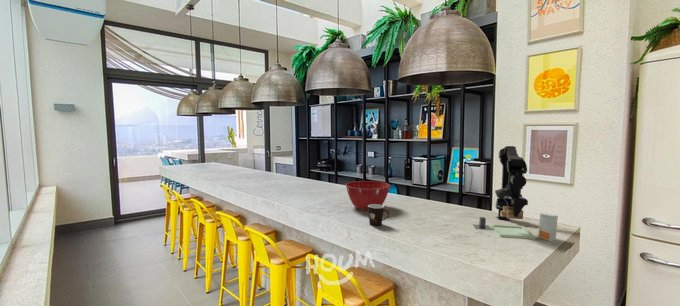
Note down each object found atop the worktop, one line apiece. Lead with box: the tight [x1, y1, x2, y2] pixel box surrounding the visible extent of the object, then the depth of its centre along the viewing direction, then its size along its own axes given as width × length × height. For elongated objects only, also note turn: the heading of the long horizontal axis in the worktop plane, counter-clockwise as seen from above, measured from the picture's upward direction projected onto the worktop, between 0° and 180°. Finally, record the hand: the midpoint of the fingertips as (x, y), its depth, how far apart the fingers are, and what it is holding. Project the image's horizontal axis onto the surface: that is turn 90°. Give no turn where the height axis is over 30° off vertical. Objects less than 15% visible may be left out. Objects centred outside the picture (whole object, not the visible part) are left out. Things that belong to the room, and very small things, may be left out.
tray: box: [489, 223, 537, 240], centre depth 161 cm, size 16×16×2 cm
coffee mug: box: [367, 204, 390, 227], centre depth 171 cm, size 12×9×10 cm
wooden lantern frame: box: [500, 206, 524, 220], centre depth 160 cm, size 9×7×4 cm
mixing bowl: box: [345, 180, 391, 211], centre depth 207 cm, size 28×28×16 cm
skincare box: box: [537, 212, 559, 242], centre depth 153 cm, size 6×4×12 cm
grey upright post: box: [472, 216, 493, 231], centre depth 169 cm, size 8×8×6 cm
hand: (512, 214), depth 160 cm, fingers closed on wooden lantern frame, 7 cm apart
